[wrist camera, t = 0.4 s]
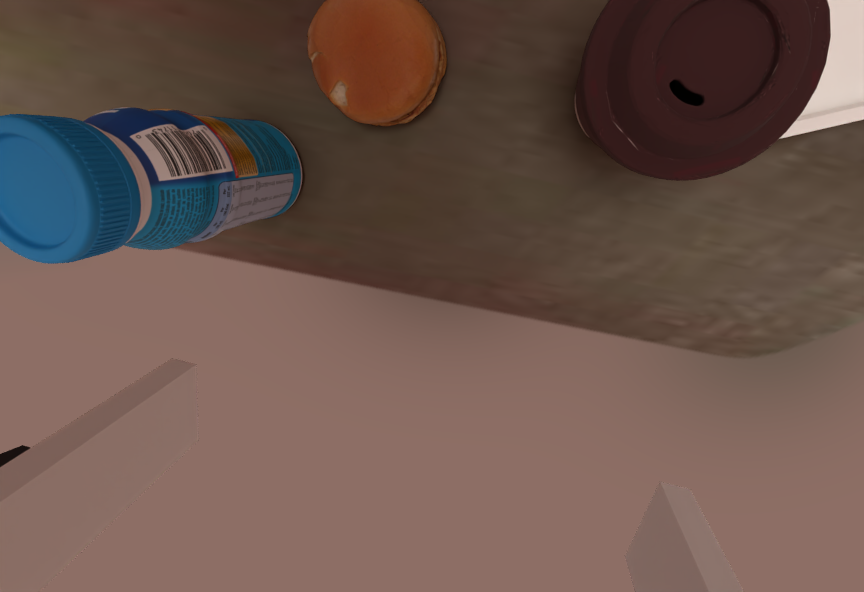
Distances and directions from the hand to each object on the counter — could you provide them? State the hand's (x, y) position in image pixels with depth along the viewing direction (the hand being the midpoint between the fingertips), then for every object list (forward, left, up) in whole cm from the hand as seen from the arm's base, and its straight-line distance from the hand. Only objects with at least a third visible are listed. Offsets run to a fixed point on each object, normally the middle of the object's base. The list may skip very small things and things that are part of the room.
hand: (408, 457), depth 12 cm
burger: (-16, -4, -27) cm, 32 cm away
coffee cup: (-9, +13, -27) cm, 31 cm away
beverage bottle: (-11, -17, -27) cm, 34 cm away
